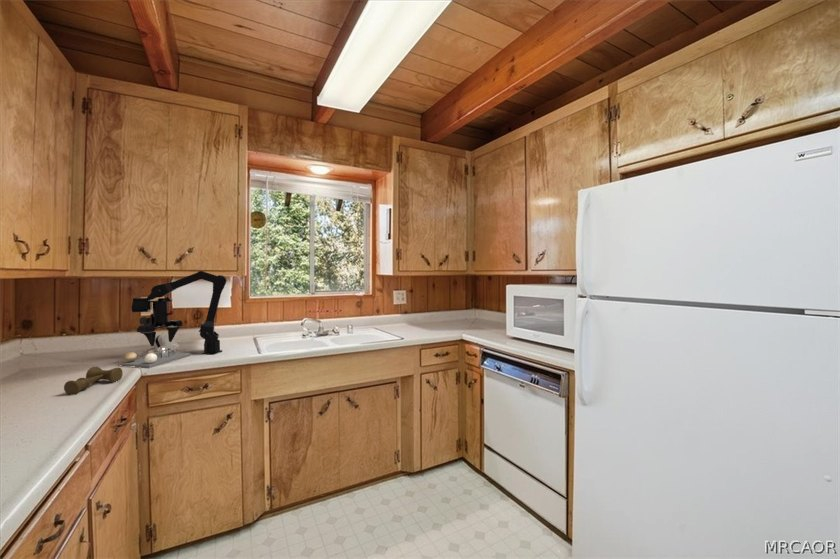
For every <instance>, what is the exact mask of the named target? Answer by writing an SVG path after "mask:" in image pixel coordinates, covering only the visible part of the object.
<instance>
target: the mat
mask: <svg viewBox="0 0 840 559" xmlns="http://www.w3.org/2000/svg"><path fill="white" fill-rule="evenodd" d="M191 356H192V354H191V352H176V354H175V355H173V356H169V357H164V358H157V360H156V361H155V362H154V363H147V362H145V356H143V357H138V358H136V360H135V361H133V362H127V361H124V362H119V363H118V366H119V365H122V366H121V367H124V366H135V367H134V368H139V367H141V368H144V369H152V368H155V367H158V366H162V365H164V364H169V363H171V362H173V361H179V360H182V359H185V358H188V357H191ZM141 368H140V369H141Z"/></svg>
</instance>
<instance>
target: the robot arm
mask: <svg viewBox="0 0 840 559" xmlns="http://www.w3.org/2000/svg"><path fill="white" fill-rule="evenodd" d="M199 280H203V281H207V282H209V283H212V295H211V298H210V299H211V300H210V302H209V303H210V304H209V307H208V310H207V315H206V319H205V321H204V322H203V321H201V323H200V328H199V330H198V333H199V336H200V337H201V338H202V339H204V344H203V347H204V348H203V351H202V353H201V354H203V355H204V354H205V355H216V354H218V353H221V352H223V349H221V341H220V339H219V336H220V334H219V333H217V331H215V321H216V315H217V312H218V308H219V303H220V299H221V295H222V292H223V291H224V289H225V286H226V284H227V281H228V280H227V277H226V276H224V275H222V274H220V275H219V274H218V275H216V274H213V273H209V272H206V271H204V270H199V271H197V272H196V273H193V274H190V275H188V276H185V277H181V278H180V279H177V280H174V281H171V282H166V283H160V284H157V285H154V286H153V287H152V288H151V290H150V294H148V296H147V297H133V299H132V303H131V312H132V313H135V314H136V313H149V311H150V310H151V311H152V313H150V316H149V317H146V316H143V317H140V318H139V325H138V326H137V327H136V330H137V332H136V333H140V334H143V335H144V336H145V337H146V339H147V341H148V343H149V345H150V347H154V343H155V337H156V336H157V335H156V334H157V331H156V330H157V329H161V328H165V329H166V330H167V333H168V338H169V342H172V340H174V337H175V336H176V335H177V332H178V330H179V329H181V327H182V326H183V321H182V320H181V319H172V320H169V316H171V312H169V306H168V305H169V304H168V302H173V299H172V298H171V297H170V296H167V295H169V294H170V293H172V292H173V291H175V290H177V289H179V288H182V287H183V286H187V285H189V284H192V283H194V282H197V281H199ZM164 296H165V297H164ZM155 299H157V300H155Z"/></svg>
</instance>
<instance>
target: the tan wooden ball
mask: <svg viewBox="0 0 840 559" xmlns="http://www.w3.org/2000/svg"><path fill="white" fill-rule="evenodd" d="M137 357H138V355H137V352H133V351H130V352H127V353H125V354H124V356H123V359H124V362H133V361H135V360H136V359H138V358H137Z"/></svg>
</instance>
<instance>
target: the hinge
mask: <svg viewBox="0 0 840 559" xmlns="http://www.w3.org/2000/svg"><path fill="white" fill-rule="evenodd" d="M161 346H165V347H167V348H175V349H176V350H177V349H178V348H179V347H180V345H179V344H178V342H175V340H174V339H173V340H172V342H169V338H168V332H165V333H161V334H158V335H156V336H155V343H154V346H153V347H154V349H158V348H159V347H161Z"/></svg>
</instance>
